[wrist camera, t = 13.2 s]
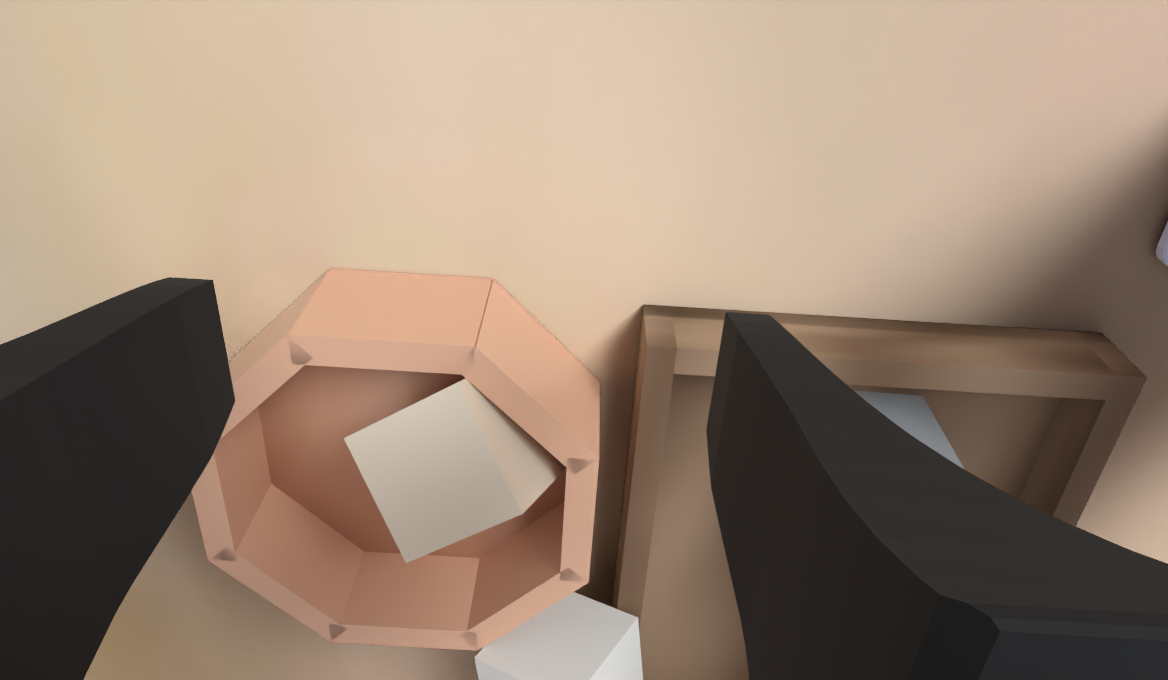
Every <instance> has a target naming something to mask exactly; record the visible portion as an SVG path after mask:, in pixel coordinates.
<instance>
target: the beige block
mask: <svg viewBox="0 0 1168 680" xmlns="http://www.w3.org/2000/svg"><path fill="white" fill-rule="evenodd" d="M344 440H345V442H346V444H347V446H348V448H349V450H350V452H351V454H352V456H353V458H354V460H355V462H356V464H357V466H358V468H359V470H360V472H361V474H362V476H363V478H364V480H365V482H366V484H367V486H368V488H369V490H370V492H371V494H372V496H373V498H374V500H375V502H376V504H377V506H378V508H379V510H380V512H381V514H382V516H383V518H384V520H385V522H386V524H387V526H388V528H389V530H390V532H391V534H392V536H393V538H394V540H395V542H396V544H397V546H398V548H399V550H400V552H401V554H402V556H403V558H404V560H405V562H406V563H408V562H410V561H412V560H415V559H417V558H419V557H422V556H424V555H427V554H429V553H431V552H434V551H436V550H438V549H441V548H443V547H445V546H448V545H450V544H453V543H455V542H457V541H460V540H462V539H464V538H467V537H469V536H472V535H474V534H476V533H479V532H481V531H483V530H486V529H488V528H490V527H493V526H495V525H498V524H500V523H502V522H505V521H507V520H509V519H512V518H514V517H517V516H519V515H521V514H523V513H524V512H525V511H526V510H527V509H528V508H529V507H530V506H531V505H532V504H533V503H534V502H535V500H536V499H537V498H538V497H539V496H540V495H541V494H542V493H543V492H544V491H545V490H546V489H547V488H548V487H549V486H550V485H551V484H552V483H553V482H554V481H555V480H556V478H557V477H558V476H559V475H560V474H561V473H562V472H563V471H564V470H565V469H566V467H565V466H564V465H563V464H562V463H561V462H560V461H559V460H558V459H556V458H555V457H554V456H553V455H552V454H551V453H550V452H549V451H547V450H546V449H545V448H544V447H543V446H542V445H541V444H540V443H538V442H537V441H536V440H535V439H534V438H533V437H532V436H530V435H529V434H528V433H527V432H526V431H525V430H524V429H523V428H521V427H520V426H519V425H518V424H517V423H516V422H515V421H514V420H512V419H511V418H510V417H509V416H508V415H507V414H506V413H504V412H503V411H502V410H501V409H500V408H499V407H498V406H497V405H495V404H494V403H493V402H492V401H491V400H490V399H489V398H487V397H486V396H485V395H484V394H483V393H482V392H481V391H480V390H478V389H477V388H476V387H475V386H474V385H473V384H472V383H471V382H469V381H468V380H467V379H463V380H461V381H459V382H457V383H455V384H453V385H451V386H449V387H447V388H445V389H443V390H441V391H439V392H437V393H435V394H433V395H431V396H429V397H427V398H425V399H423V400H421V401H419V402H417V403H415V404H413V405H410V406H408V407H406V408H404V409H402V410H400V411H398V412H396V413H394V414H392V415H390V416H388V417H386V418H384V419H382V420H380V421H378V422H376V423H374V424H372V425H370V426H368V427H366V428H364V429H362V430H360V431H358V432H356V433H354V434H351V435H349V436H347V437H345V438H344Z"/></svg>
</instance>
